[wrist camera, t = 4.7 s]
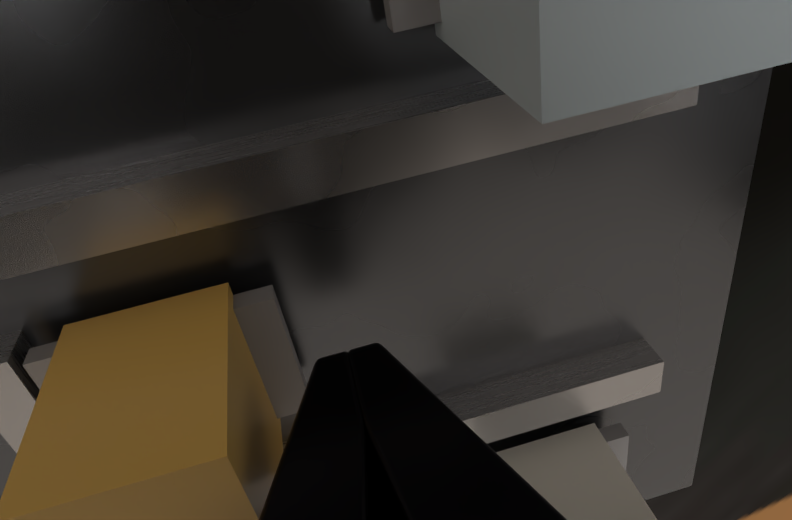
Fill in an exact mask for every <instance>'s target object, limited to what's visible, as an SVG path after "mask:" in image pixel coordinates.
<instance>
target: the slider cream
mask: <svg viewBox="0 0 792 520" xmlns="http://www.w3.org/2000/svg"><path fill="white" fill-rule="evenodd" d="M628 444H629V434H628V433H627V431H626V430H625V429H624V427H623V426H622V424H621V423H617V424H614V425H610V426H607V427H604V428H600V429H598V428H597V426H596V425H595V423H592V424H589V425H586V426H582V427H579V428H576V429H572V430H569V431H566V432H562V433H559V434H556V435H552V436H549V437H546V438H542V439H539V440H536V441H532V442H529V443H526V444H522V445H519V446H516V447H512V448H509V449H506V450H502V451H499V452H496V453H497V454H498V455H499V456H500V457H501V458H502V459H503V460H504V461H505V462H507V463H508V464H509V465H510V466H511V467H512V468H513V469H514V470H515V471H516V472H517V473H518V474H519V475H520V476H521V477H522V478H523V479H525V480H526V481H527V482H528V483H529V484H530V485H531V486H532V487H533V488H534V489H535V490H536V491H537V492H538V493H539V494H540V495H541V496H543V497H544V498H545V499H546V500H547V501H548V502H549V503H550V504H551V505H552V506H553V507H554V508H555V509H556V510H557V511H558V512H559V513H561V514H562V515H563V516H564V517H565V518H566V519H567V520H657V519H656V517H655V516H654V514H653V512H652V511H651V509H650V508H649V506H648V505H647V503H646V502H645V500H644V499H643V497H642V496H641V494H640V492H639V491H638V489H637V488H636V486H635V485H634V483H633V482H632V480H631V479H630V477H629V476H628V474H627V472H626V466H627V455H628Z"/></svg>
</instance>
